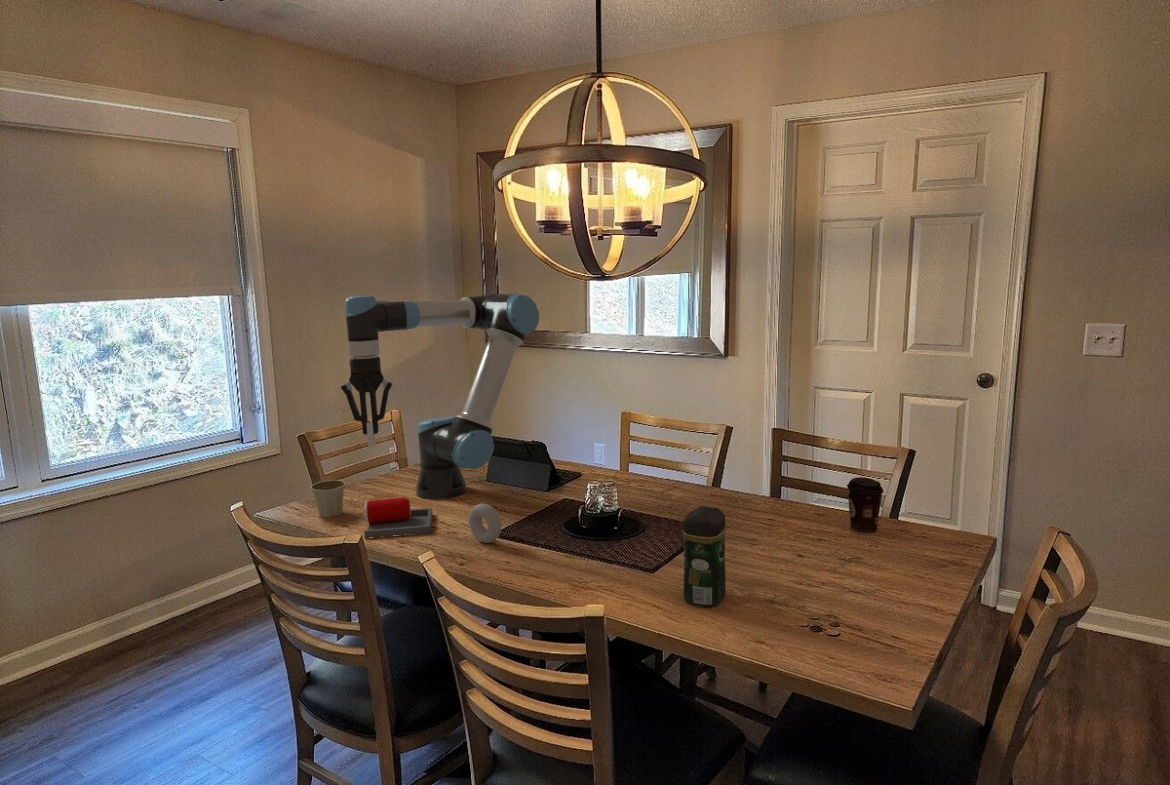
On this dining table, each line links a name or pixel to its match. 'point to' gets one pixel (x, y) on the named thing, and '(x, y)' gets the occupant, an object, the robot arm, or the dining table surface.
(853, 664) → the dining table surface
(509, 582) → the dining table surface
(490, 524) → the donut
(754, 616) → the dining table surface
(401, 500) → the beverage can
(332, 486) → the flower pot
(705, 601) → the coffee jar
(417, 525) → the tray
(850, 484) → the coffee cup
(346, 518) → the dining table surface
